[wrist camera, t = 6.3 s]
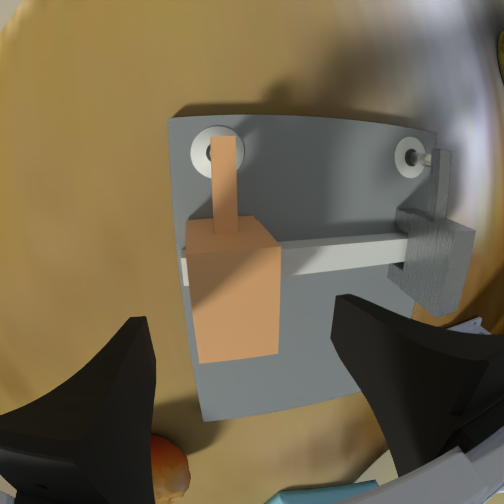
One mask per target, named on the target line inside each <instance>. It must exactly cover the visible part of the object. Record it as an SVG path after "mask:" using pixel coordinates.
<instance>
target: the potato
mask: <svg viewBox="0 0 504 504" xmlns="http://www.w3.org/2000/svg"><path fill="white" fill-rule="evenodd" d="M498 60H499V66H500V70H501V75H502V79H503V82H504V30H503V31H502V32H501V34H500V36H499V39H498Z"/></svg>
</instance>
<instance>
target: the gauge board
mask: <svg viewBox="0 0 504 504" xmlns="http://www.w3.org/2000/svg"><path fill="white" fill-rule="evenodd" d="M168 132H169V156H170V175H171V190H172V204H173V216H174V228H175V238H176V248H177V258H178V267H179V275H180V283H181V291H182V299H183V306H184V314H185V321H186V327H187V334H188V340H189V347H190V353H191V359H192V364H193V370H194V376H195V381H196V387H197V392H198V397H199V402H200V407H201V412H202V417H203V422H208V421H217V420H226V419H234V418H241V417H248V416H254V415H260V414H266V413H272V412H277V411H283V410H288V409H293V408H297V407H302V406H306V405H311V404H315V403H319V402H323V401H327V400H331V399H335V398H339V397H343V396H346V395H350V394H353V393H357V392H360V391H361V390H360V388H359V387H358V385H357V384H356V382H355V381H354V379H353V378H352V376H351V375H350V373H349V372H348V370H347V369H346V367H345V366H344V364H343V363H342V361H341V360H340V358H339V356H338V354H337V352H336V350H335V348H334V345H333V343H332V341H331V339H330V336H331V329H332V321H333V313H334V305H335V297H336V295H343V294H352V295H355V296H358V297H361V298H363V299H365V300H368V301H370V302H372V303H374V304H377V305H379V306H381V307H383V308H386V309H388V310H390V311H393V312H395V313H397V314H400V315H402V316H405V317H408V318H410V319H411V316H412V312H413V308H414V304H415V300H413V299H412V298H411V297H410V296H408V295H407V294H406V293H405V292H403V291H402V290H401V289H399V288H400V287H399V286H397V285H396V284H395V283H394V282H392V281H391V280H390V279H388V278H387V276H388V270H389V264H390V263H397V262H404V261H405V255H406V248H407V241H408V234H409V233H407V232H405V231H403V230H401V229H399V228H397V227H395V216H396V209H411V208H418V209H420V210H423V211H426V212H427V205H428V195H429V184H430V170H431V167H426V166H421V165H416V164H412V163H411V161H410V155H411V153H412V152H417V153H424V154H431V149H432V148H435V149H436V133H434V132H429V131H424V130H419V129H413V128H407V127H401V126H395V125H388V124H381V123H374V122H366V121H357V120H348V119H338V118H326V117H311V116H292V115H211V116H192V117H177V118H168ZM216 136H236V175H237V212H238V216H251V215H253V217H254V218H255V219H256V220H258V221H259V222H260V223H261V224H262V225H263V226H264V227H265V228H266V230H267V231H268V232H269V233H270V234H271V235H272V236H273V238H274V239H275V240H276V241H277V242H278V243H279V244H280V246H281V280H280V316H279V344H278V354H273V355H266V356H260V357H253V358H245V359H238V360H230V361H221V362H212V363H202V364H199V357H198V351H197V344H196V337H195V330H194V322H193V315H192V307H191V298H190V290H189V281H188V272H187V262H186V220H195V219H208V218H213V200H212V177H211V156H210V137H216Z"/></svg>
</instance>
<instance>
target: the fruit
mask: <svg viewBox="0 0 504 504" xmlns="http://www.w3.org/2000/svg"><path fill="white" fill-rule="evenodd" d="M150 444H151V465H152V478H153V488H154V496H155V504H171V503H173V502H174V501H176V500H178V499H180V498H182V497H183V496H184V493H185V491H186V490H187V489H188V488H189V483H190V479H191V476H190V472H189V466H188V460H187V457H186V455H185V454H184V453H183V451H182V450H181V449H179V448H178V447H177V446H175V445H174V444H173V443H171V442H170V441H168V440H167V439H165V438H163V437H160V436H157V435H152V434H151V438H150Z"/></svg>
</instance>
